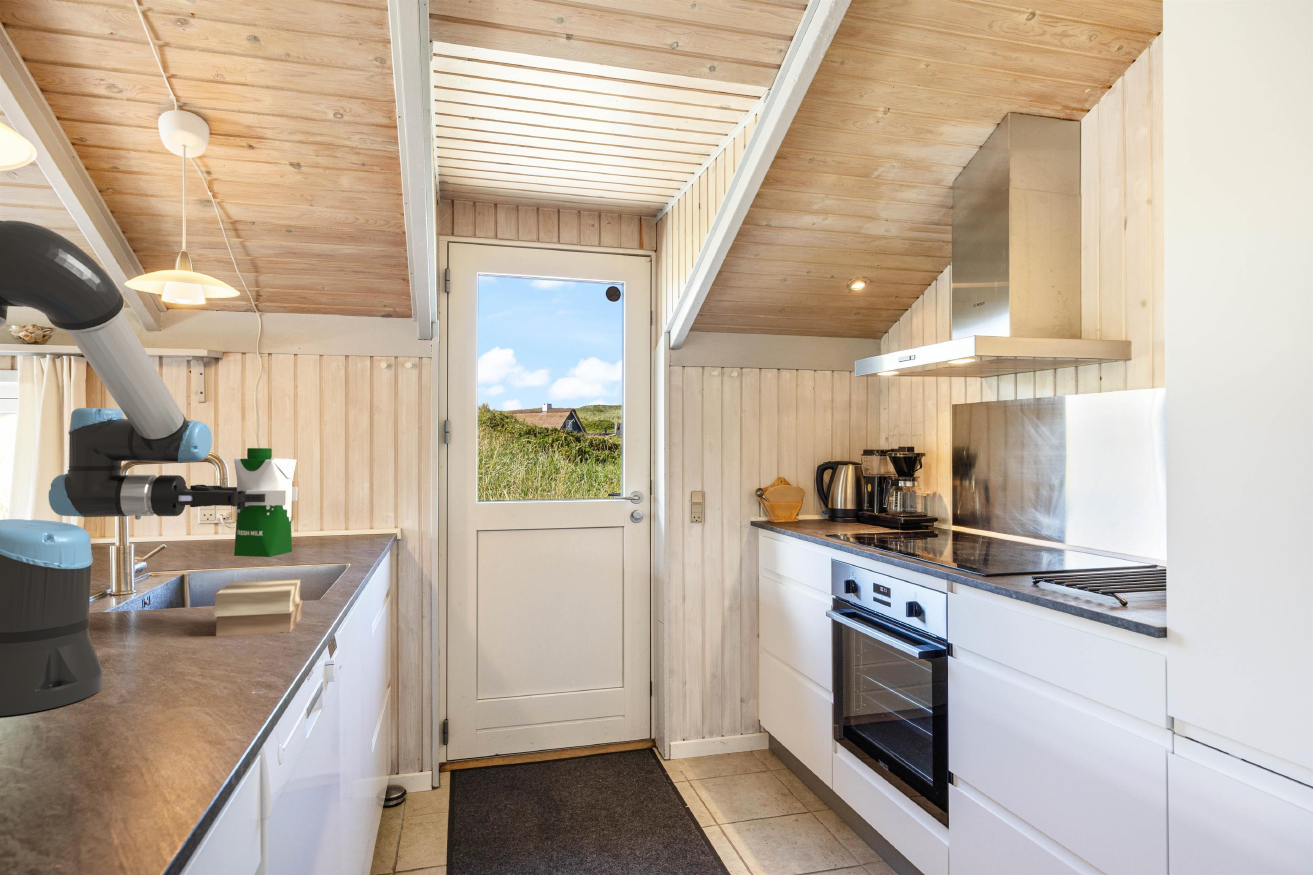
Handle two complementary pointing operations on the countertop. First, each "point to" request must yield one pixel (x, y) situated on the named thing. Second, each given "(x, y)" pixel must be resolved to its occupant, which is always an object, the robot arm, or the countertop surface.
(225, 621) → the block lower
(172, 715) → the countertop surface
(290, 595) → the block upper
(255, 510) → the fresh milk carton
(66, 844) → the countertop surface
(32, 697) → the robot arm
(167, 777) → the countertop surface
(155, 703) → the countertop surface
